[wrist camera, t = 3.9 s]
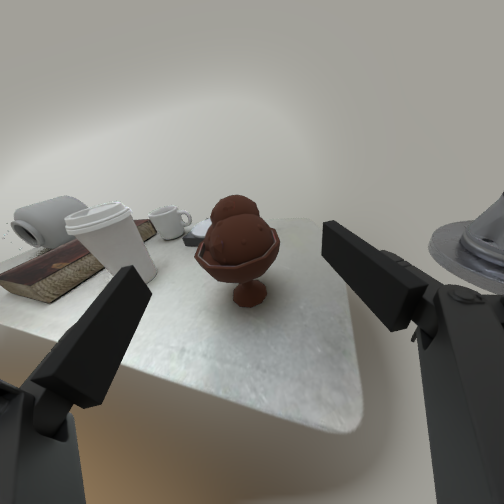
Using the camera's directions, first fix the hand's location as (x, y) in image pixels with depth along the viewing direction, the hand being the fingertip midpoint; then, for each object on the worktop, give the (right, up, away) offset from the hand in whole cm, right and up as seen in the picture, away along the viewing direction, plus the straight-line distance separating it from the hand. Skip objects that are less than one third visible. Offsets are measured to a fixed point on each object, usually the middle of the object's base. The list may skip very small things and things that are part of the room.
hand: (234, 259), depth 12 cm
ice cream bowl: (+1, -6, +16) cm, 17 cm away
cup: (-21, +6, +41) cm, 46 cm away
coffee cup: (-22, -5, +25) cm, 33 cm away
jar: (-65, +2, +50) cm, 82 cm away
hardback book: (-42, -1, +37) cm, 56 cm away
